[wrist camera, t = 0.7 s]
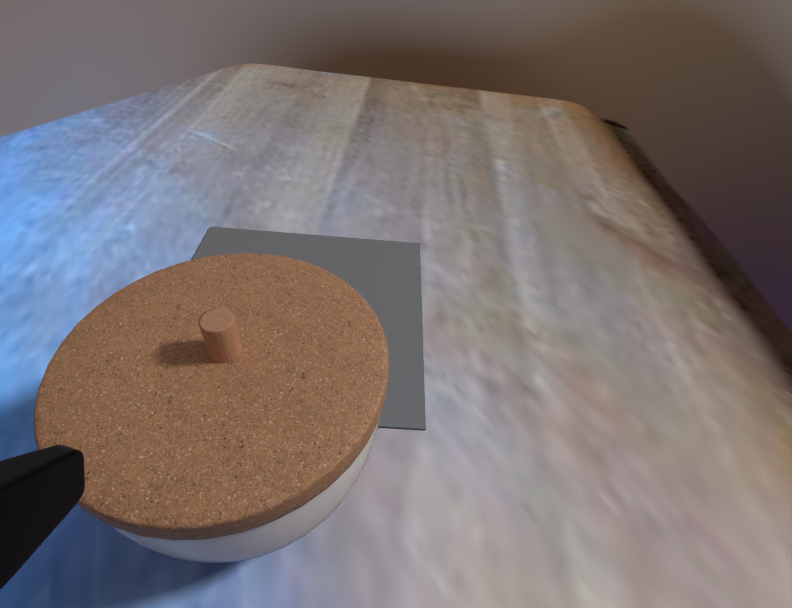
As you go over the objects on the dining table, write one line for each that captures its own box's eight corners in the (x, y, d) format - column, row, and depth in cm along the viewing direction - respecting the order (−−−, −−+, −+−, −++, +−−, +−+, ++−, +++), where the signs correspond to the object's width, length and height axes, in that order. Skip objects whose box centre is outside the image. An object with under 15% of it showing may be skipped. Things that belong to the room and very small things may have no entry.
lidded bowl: (278, 668, 17) (226, 609, 10) (65, 506, 21) (-99, 367, 13) (416, 422, 26) (448, 284, 18) (247, 335, 29) (211, 188, 21)
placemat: (424, 433, 26) (425, 429, 25) (110, 414, 25) (106, 409, 25) (419, 248, 39) (419, 243, 38) (211, 231, 38) (210, 226, 38)
